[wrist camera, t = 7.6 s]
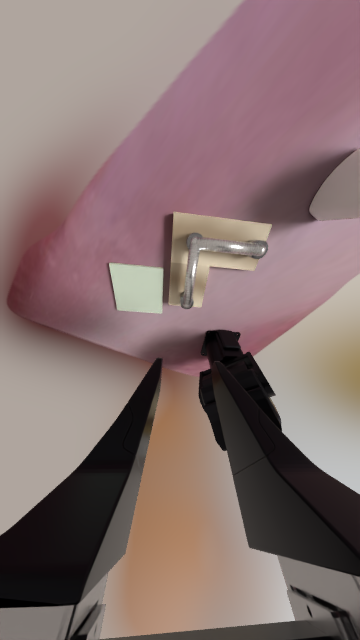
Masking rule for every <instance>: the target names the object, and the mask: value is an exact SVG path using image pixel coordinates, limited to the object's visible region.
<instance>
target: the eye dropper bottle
mask: <svg viewBox="0 0 360 640" xmlns="http://www.w3.org/2000/svg"><path fill="white" fill-rule="evenodd" d="M309 211H310V213H311V214H312V215H313V216H314V217H315V218H316V219H317V220H319V221H325V220H339V219H353V218H360V148H359V149H358V150H356V151H355V152H353V153H352V154H351V155H350V156H348V157H347V158H346V159H345V160H344V161H343V162H342V163H341V164H340V165H339V166H338V167H337V168H336V169H335V170H334V171H333V172H332V173H331V174H330V175H329V176H328V178H327V179H326V180H325V181H324V183H323V184H322V186H321V187H320V189H319V190H318V192H317V193H316V195H315V197H314V199H313V201H312V203H311V205H310V208H309Z"/></svg>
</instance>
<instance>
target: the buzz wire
mask: <svg viewBox="0 0 360 640" xmlns="http://www.w3.org/2000/svg"><path fill="white" fill-rule="evenodd" d="M271 227H272V224H265V223H257V222H249V221H241V220H234V219H226V218H218V217H210V216H202V215H195V214H187V213H179V212H174V216H173V234H172V252H171V269H170V287H169V304H168V305H177V306H181V307H182V308H184V309H190V308H191V307H201V306H202V301H203V296H204V291H205V286H206V282H207V277H208V272H209V267H210V266H212V267H222V268H232V269H241V270H251V271H254V270H255V268H256V265H257V263H258V260H259V259H260V258H262V257H263V256H264V255H265V254H266V252H267V250H268V244H267V242H266V240H267V237H268V235H269V232H270V229H271Z"/></svg>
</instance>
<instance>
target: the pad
mask: <svg viewBox="0 0 360 640" xmlns="http://www.w3.org/2000/svg"><path fill="white" fill-rule="evenodd" d="M109 266H110V272H111V277H112V283H113V288H114V294H115V299H116V305H117V310H120V311H134V312H147V313H160V314H162V301H163V268H162V267H152V266H142V265H131V264H121V263H109Z"/></svg>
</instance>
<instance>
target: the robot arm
mask: <svg viewBox="0 0 360 640" xmlns="http://www.w3.org/2000/svg"><path fill="white" fill-rule="evenodd" d="M208 332H210V334H208ZM237 334H239V335H237ZM240 335H241V334H240V333H239V332H232V331H221V330H219V331H210V330H209V331H207V332H206V336H205V339H204V343H203V347H202V351H201V355H203V356H208V360H209V364H210V369H208V370H206V371H202V372H200V380H199V399H200V403H201V404H202V407H203V409H204V411H205V412H206V413H207V415H208V418H209V420H210V423H211V426H212V429H213V432H214V436H215V439H216V441H217V443H218V444H219V445H220V447H221V449H222V450H223V451H226V450H227V453H228V457H229V461H230V466H231V470H232V475H233V479H234V484H235V488H236V492H237V497H238V501H239V506H240V510H241V515H242V519H243V523H244V528H245V532H246V537H247V541H248V545H249V547H250V548H252V549H256V550H260V551H264V552H267V553H271V554H275V555H277V556H278V560H279V563H280V566H281V569H282V572H283V576H284V579H285V582H286V585H287V589H288V590H287V594H288V597H289V601H290V604H291V607H292V611H293V614H294V617H295V621H290V622H279V623H269V624H259V625H248V626H237V627H226V628H216V629H205V630H194V631H184V632H173V633H163V634H152V635H141V636H130V637H120V638H109V639H99V638H100V633H101V628H102V622H103V617H104V612H105V606H106V604H102V601H103V596H104V591H105V587H106V582H107V576H108V572H109V571H110V569H111V568H112V567H113V566H114V565H115V564H116V563H117V562H118V561H119V560H120V559H121V557H122V556H123V555H124V554H125V552H126V547H127V543H128V538H129V533H130V529H131V524H132V519H133V515H134V510H135V505H136V501H137V496H138V491H139V486H140V482H141V476H142V472H143V467H144V463H145V458H146V453H147V449H148V444H149V440H150V435H151V430H152V426H153V421H154V416H155V411H156V407H157V402H158V397H159V392H160V386H161V375H162V363H163V359H162V358H156V360H155V361H154V363H153V365H152V366H151V368H150V369H149V371H148V372H147V374H146V375H145V377H144V378H143V380H142V381H141V383H140V385H139V386H138V387H137V389H136V391H135V392H134V394H133V395H132V397H131V398H130V400H129V401H128V403H127V404H126V406H125V407H124V409H123V410H122V412H121V413H120V415H119V416H118V418H117V419H116V421H115V422H114V423H113V424H112V426H111V427H110V429H109V430H108V431H107V432H106V433H105V435H104V436H103V437H102V438H101V440H100V441H99V442H98V443H97V445H96V446H95V447H94V448H93V450H92V451H91V452H90V454H89V455H88V456H87V457H86V458H85V459H84V461H83V462H82V463H81V464H80V465H79V466H78V467H77V468H76V470H75V471H73V472H72V473H71V474H70V475H69V476H68V477H67V478H66V479H65V480H64V481H63V482H61V483H60V484H59V485H58V486H57V487H56V488H55V489H54V490H53V491H52V492H51V493H49V494H48V495H47V496H46V497H45V498H44V499H43V500H41V501H40V502H39V503H38V504H37V505H36V506H35V507H34V508H32V509H31V510H30V511H29V512H28V513H27V514H26V515H25V516H24V517H22V518H21V519H20V520H19V521H18V522H17V523H16V524H15V525H14V526H12V527H11V528H10V529H9V530H7V531H6V532H5V533H3V534H2V535H1V536H0V640H360V494H358V493H356V492H355V491H353V490H352V489H350V488H349V487H347V486H345V485H344V484H342V483H341V482H339V481H338V480H336V479H334V478H333V477H331V476H330V475H328V474H326V473H325V472H324V471H322V470H321V469H319V468H318V467H317V466H316V465H314V463H312V462H311V461H310V460H309V459H308V458H307V457H306V456H305V455H304V454H303V453H302V452H301V451H300V450H299V449H298V448H297V447H296V446H295V445H294V444H293V443H292V442H291V441H290V440H289V439H288V438H287V437H286V436H285V435H284V434H283V433H282V428H281V419H280V416H279V414H278V412H277V409H276V407H275V405H274V404H273V402H272V400H271V398H270V397H272V396H275V393H274V391H273V390H272V388H271V387H270V385H269V383H268V381H267V380H266V378H265V376H264V375H263V373H262V371H261V370H260V368H259V366H258V365H257V363H256V361H255V360H254V358H253V356H252V355H251V353H250V352H247V353H246V354H243V352H242V350H241V347H240V345H239V343H238V340H239V337H240ZM202 353H204V354H202Z"/></svg>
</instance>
